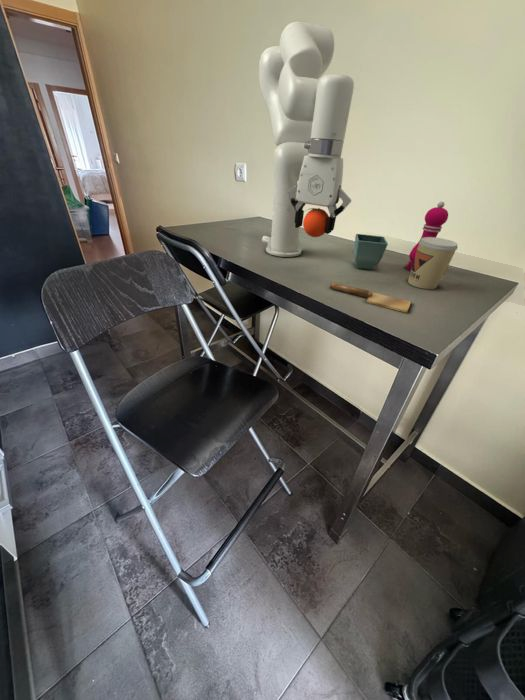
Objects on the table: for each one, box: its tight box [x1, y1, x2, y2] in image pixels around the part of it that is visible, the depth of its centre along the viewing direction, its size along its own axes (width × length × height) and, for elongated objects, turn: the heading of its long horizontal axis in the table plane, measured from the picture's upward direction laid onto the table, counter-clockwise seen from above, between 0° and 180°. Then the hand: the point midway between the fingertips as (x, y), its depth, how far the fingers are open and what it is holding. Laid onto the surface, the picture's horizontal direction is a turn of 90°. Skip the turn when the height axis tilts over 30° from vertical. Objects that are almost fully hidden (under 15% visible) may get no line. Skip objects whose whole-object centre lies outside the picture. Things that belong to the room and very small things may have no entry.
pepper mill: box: [406, 200, 449, 272], centre depth 87 cm, size 7×7×20 cm
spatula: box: [329, 281, 412, 314], centre depth 72 cm, size 20×6×2 cm, turn 59°
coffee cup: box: [407, 237, 459, 290], centre depth 79 cm, size 9×9×12 cm
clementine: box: [302, 207, 330, 238], centre depth 75 cm, size 8×7×7 cm
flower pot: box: [353, 233, 389, 271], centre depth 90 cm, size 9×9×9 cm
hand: (313, 229), depth 76 cm, fingers closed on clementine, 8 cm apart
